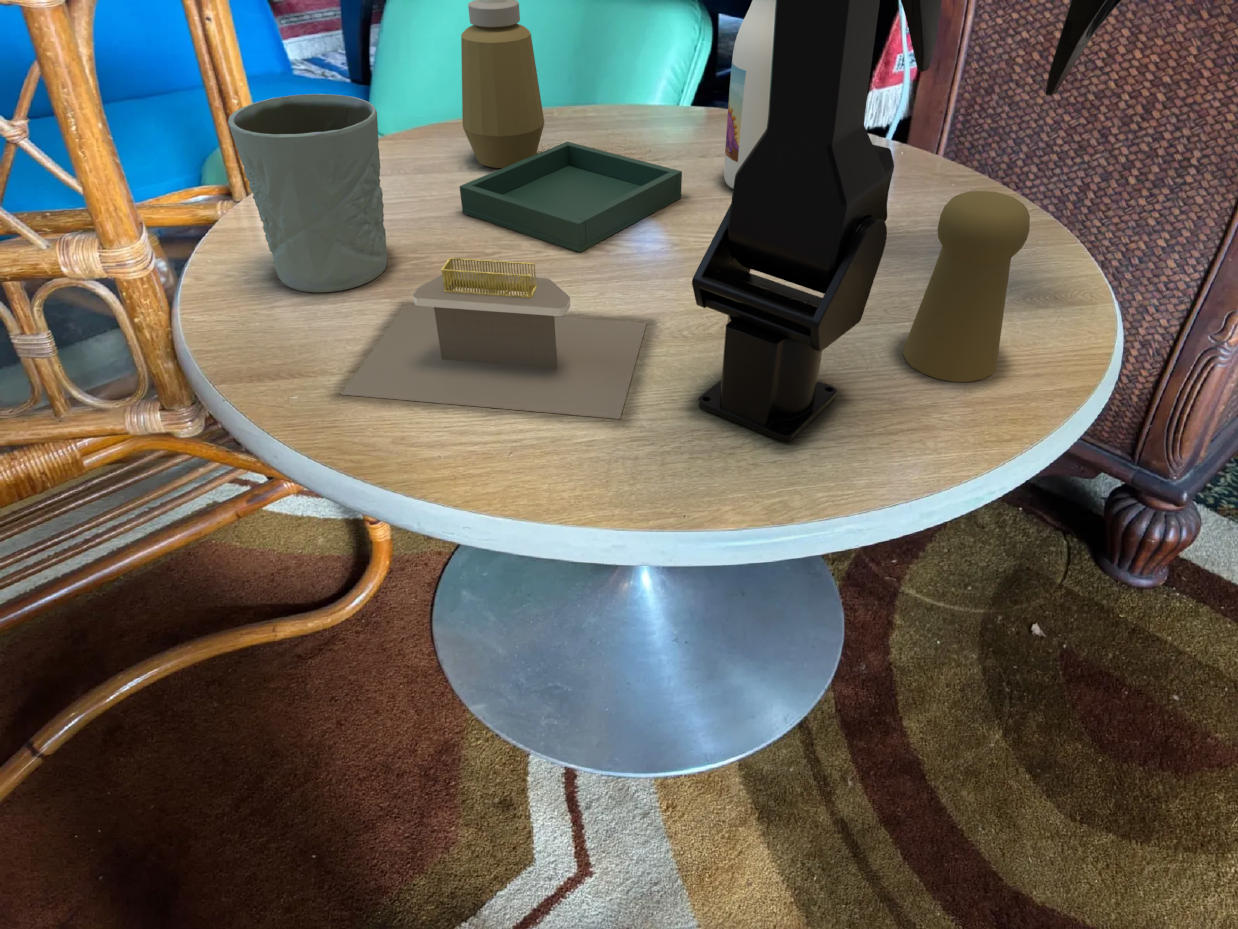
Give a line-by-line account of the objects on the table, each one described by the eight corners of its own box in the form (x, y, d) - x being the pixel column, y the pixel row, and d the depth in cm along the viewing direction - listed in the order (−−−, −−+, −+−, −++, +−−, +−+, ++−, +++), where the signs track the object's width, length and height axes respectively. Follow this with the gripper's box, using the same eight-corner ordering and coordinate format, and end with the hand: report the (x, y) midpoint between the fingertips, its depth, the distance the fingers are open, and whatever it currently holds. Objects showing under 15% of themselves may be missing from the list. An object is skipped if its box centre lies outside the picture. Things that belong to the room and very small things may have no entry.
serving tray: (580, 252, 73) (578, 223, 72) (462, 213, 80) (459, 185, 78) (681, 197, 82) (682, 170, 81) (568, 166, 89) (567, 140, 87)
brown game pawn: (1002, 386, 57) (1053, 222, 50) (904, 376, 58) (941, 214, 51) (991, 339, 62) (1035, 183, 55) (901, 331, 63) (934, 176, 56)
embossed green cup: (246, 268, 71) (201, 113, 64) (354, 230, 77) (325, 83, 70) (316, 310, 66) (276, 145, 58) (427, 265, 72) (403, 110, 64)
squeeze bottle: (543, 174, 87) (531, -36, 76) (460, 174, 87) (436, -35, 76) (549, 146, 93) (539, -51, 82) (472, 146, 94) (451, -51, 83)
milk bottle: (818, 178, 86) (849, -62, 74) (784, 204, 81) (812, -48, 68) (745, 163, 89) (764, -69, 77) (708, 188, 84) (722, -56, 72)
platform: (405, 305, 66) (390, 220, 62) (646, 323, 64) (647, 236, 60) (340, 394, 57) (318, 301, 53) (619, 418, 55) (619, 323, 51)
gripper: (1259, -195, 53) (1160, 82, 63) (959, -200, 63) (913, 41, 72) (1210, -193, 46) (1108, 118, 56) (883, -199, 56) (843, 67, 65)
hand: (984, 81), depth 62 cm, fingers open, 9 cm apart
